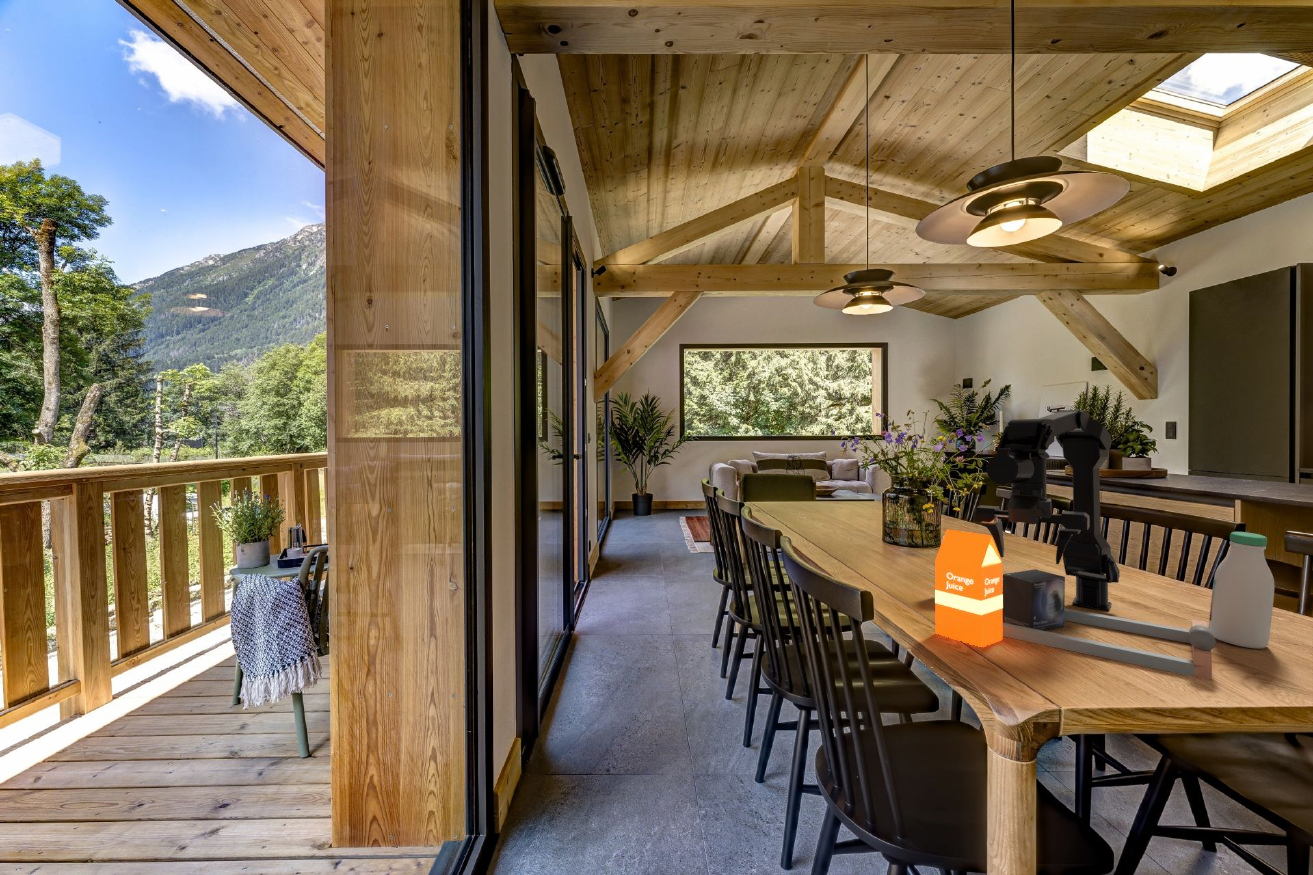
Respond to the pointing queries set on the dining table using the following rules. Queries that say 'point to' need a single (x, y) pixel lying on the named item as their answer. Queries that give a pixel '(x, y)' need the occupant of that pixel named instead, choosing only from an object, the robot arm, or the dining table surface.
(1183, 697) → the dining table surface
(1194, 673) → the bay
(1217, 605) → the milk bottle
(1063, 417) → the robot arm
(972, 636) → the orange juice
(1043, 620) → the small box
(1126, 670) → the dining table surface
